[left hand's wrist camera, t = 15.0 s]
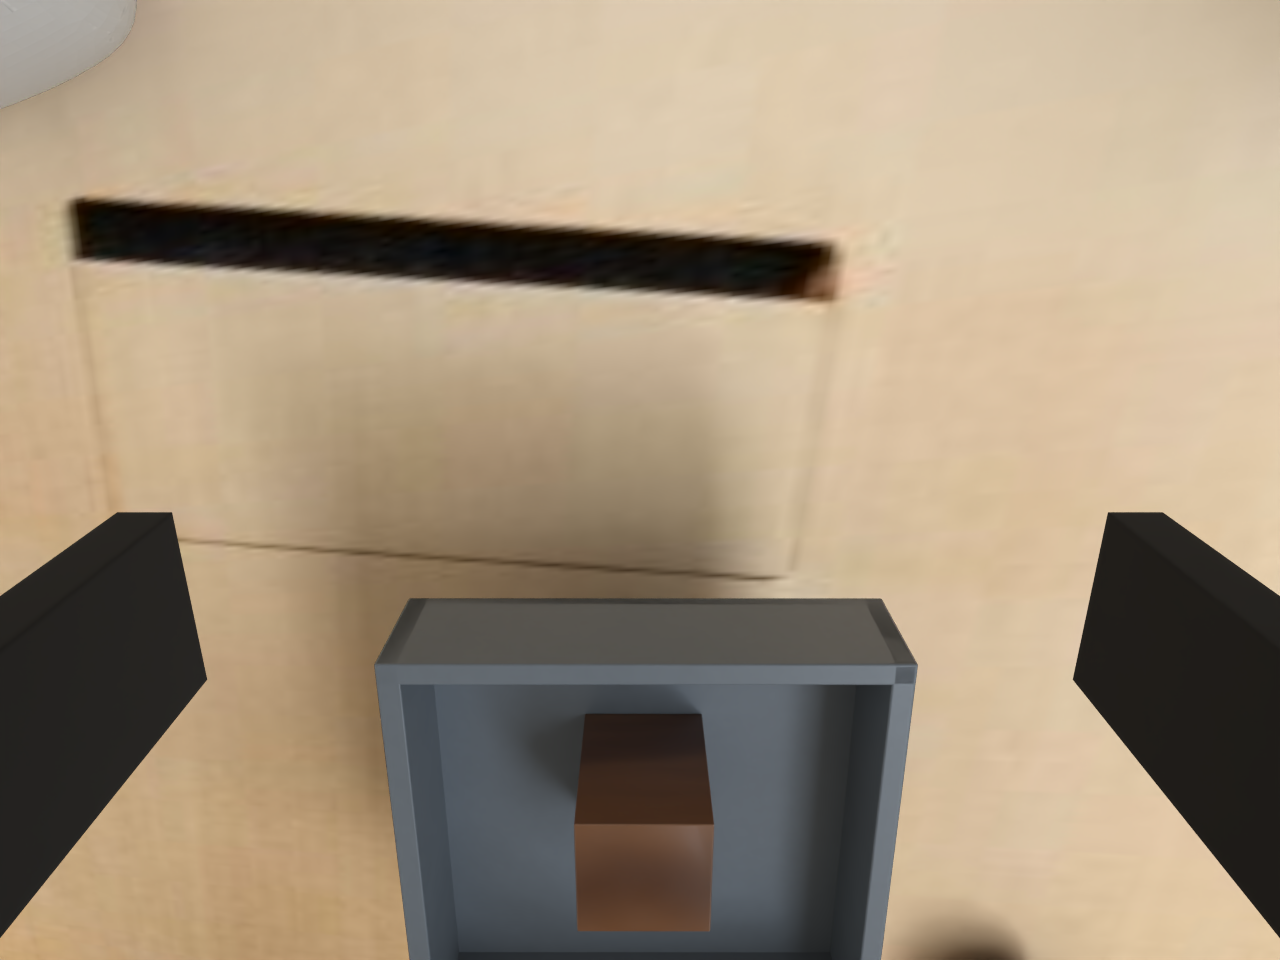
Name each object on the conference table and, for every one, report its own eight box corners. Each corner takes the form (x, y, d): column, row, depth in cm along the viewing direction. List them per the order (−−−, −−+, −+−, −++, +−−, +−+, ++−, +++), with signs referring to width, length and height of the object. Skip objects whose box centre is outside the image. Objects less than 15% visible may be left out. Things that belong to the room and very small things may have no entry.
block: (584, 713, 34) (573, 824, 28) (702, 713, 34) (714, 824, 28) (587, 808, 35) (576, 932, 30) (699, 808, 35) (710, 932, 30)
